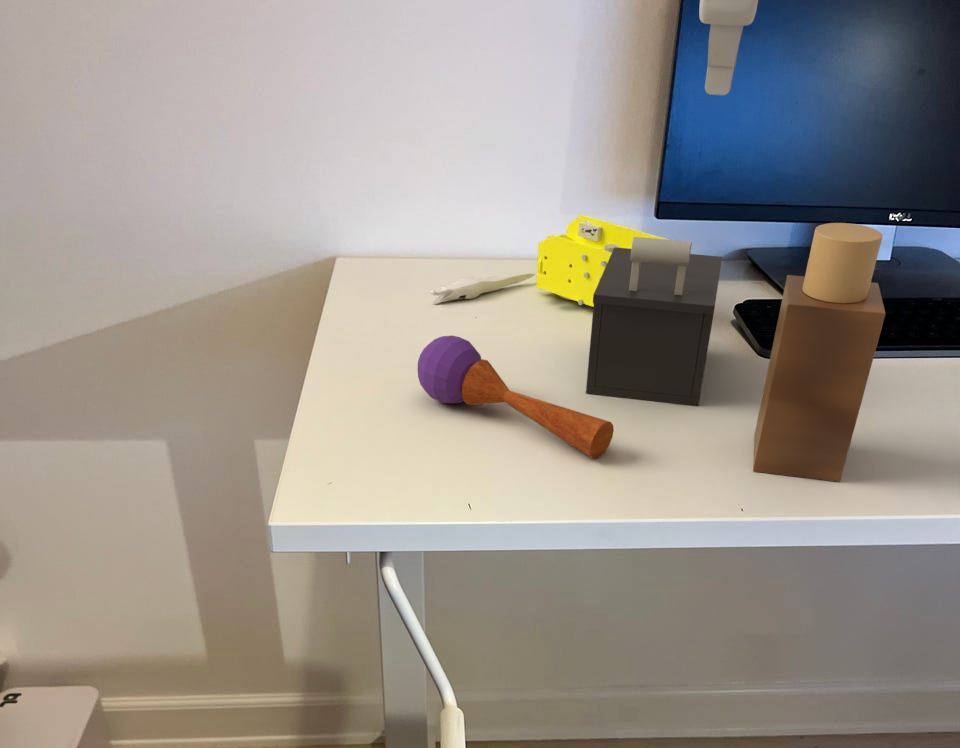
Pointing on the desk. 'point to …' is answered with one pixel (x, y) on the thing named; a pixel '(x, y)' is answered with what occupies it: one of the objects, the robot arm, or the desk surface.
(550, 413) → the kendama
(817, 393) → the stand
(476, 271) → the desk surface
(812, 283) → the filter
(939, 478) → the desk surface
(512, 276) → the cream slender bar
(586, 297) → the yellow toy chassis
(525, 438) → the desk surface
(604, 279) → the dark box lid
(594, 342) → the dark open-top box
